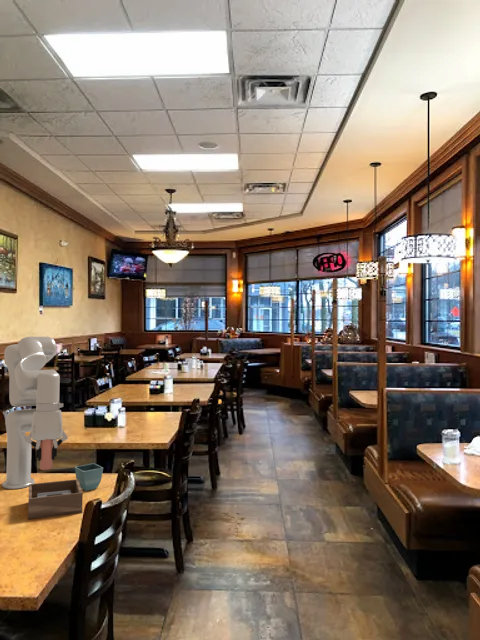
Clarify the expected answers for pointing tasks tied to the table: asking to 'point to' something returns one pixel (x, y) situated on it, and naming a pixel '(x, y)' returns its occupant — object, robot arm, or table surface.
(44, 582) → the table surface
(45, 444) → the peg
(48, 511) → the open box
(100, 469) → the flower pot
